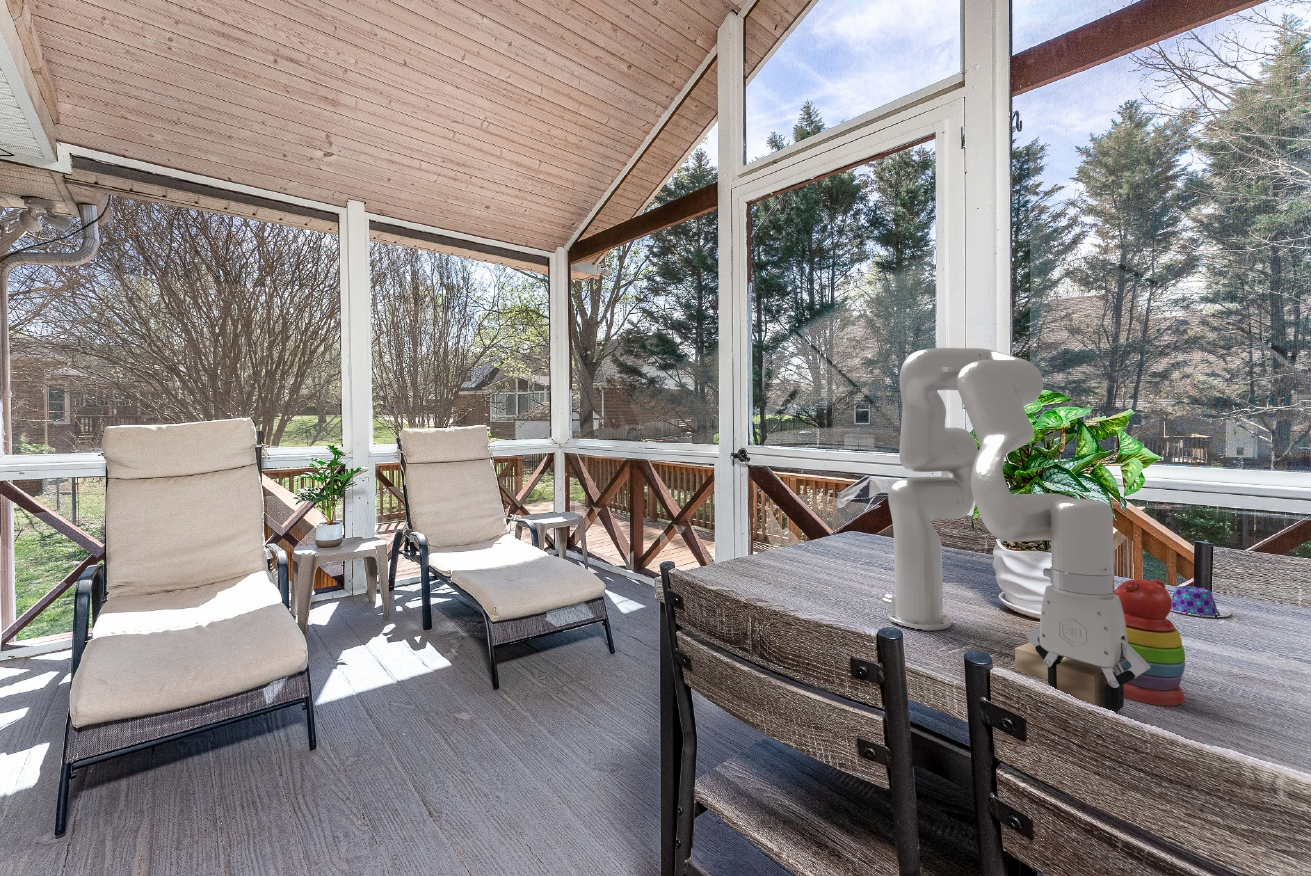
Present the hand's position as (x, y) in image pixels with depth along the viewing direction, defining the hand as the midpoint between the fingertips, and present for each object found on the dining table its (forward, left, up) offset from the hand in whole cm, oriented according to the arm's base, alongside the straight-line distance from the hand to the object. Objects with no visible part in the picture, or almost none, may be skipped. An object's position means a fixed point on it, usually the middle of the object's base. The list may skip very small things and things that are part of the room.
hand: (1084, 700), depth 86 cm
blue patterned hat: (-11, +71, -1) cm, 72 cm away
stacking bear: (+2, +13, -1) cm, 13 cm away
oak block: (-10, +9, -1) cm, 13 cm away
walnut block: (0, 0, -1) cm, 1 cm away
